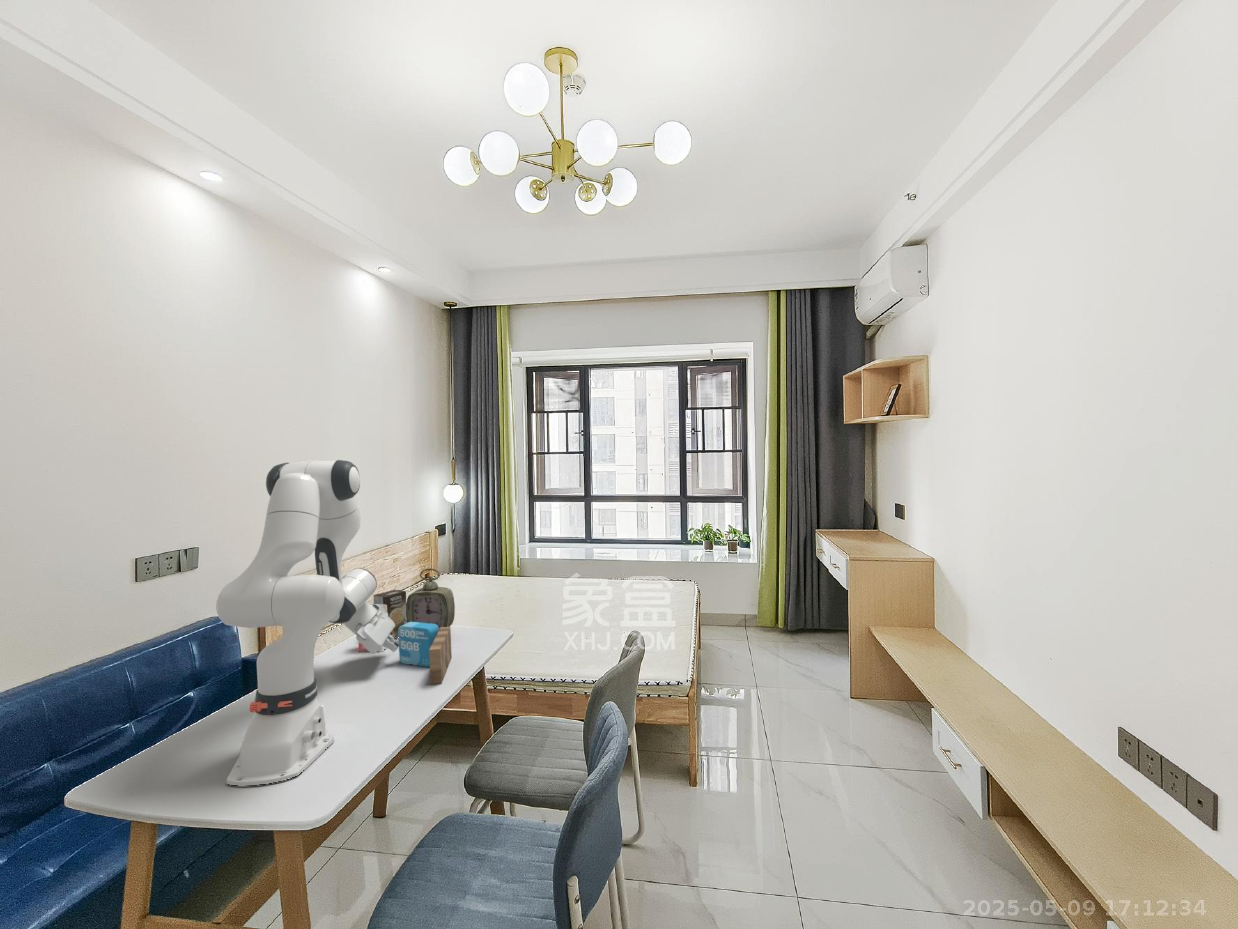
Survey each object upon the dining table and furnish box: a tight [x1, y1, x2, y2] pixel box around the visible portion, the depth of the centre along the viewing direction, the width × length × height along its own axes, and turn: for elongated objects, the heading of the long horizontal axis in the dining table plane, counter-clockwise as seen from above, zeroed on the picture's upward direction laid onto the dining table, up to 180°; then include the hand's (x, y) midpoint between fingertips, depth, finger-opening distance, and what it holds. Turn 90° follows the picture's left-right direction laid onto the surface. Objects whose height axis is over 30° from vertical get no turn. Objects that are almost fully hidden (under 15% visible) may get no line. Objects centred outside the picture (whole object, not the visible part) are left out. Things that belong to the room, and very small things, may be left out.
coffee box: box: [372, 589, 407, 640], centre depth 204 cm, size 9×6×16 cm
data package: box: [398, 622, 439, 668], centre depth 180 cm, size 12×4×12 cm, turn 70°
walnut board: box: [429, 626, 453, 685], centre depth 173 cm, size 20×3×10 cm, turn 8°
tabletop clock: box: [406, 567, 456, 630], centre depth 201 cm, size 14×9×25 cm, turn 88°
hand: (396, 648), depth 179 cm, fingers closed
